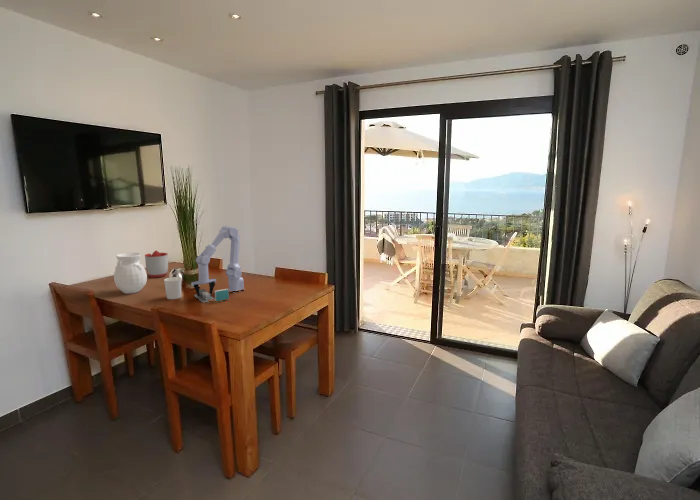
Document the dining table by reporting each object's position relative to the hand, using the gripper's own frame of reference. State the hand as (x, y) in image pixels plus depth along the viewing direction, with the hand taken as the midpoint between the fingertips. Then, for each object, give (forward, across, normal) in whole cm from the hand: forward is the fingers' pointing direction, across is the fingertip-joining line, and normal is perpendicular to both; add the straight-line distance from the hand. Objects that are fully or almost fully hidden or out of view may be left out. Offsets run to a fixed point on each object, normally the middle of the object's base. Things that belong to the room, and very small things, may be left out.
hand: (204, 294), depth 228 cm
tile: (+2, -7, +11) cm, 13 cm away
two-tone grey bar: (+2, 0, 0) cm, 2 cm away
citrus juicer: (+2, +12, -77) cm, 78 cm away
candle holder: (+2, +15, -13) cm, 20 cm away
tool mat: (+2, 0, 0) cm, 2 cm away
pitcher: (+2, +34, -42) cm, 54 cm away
